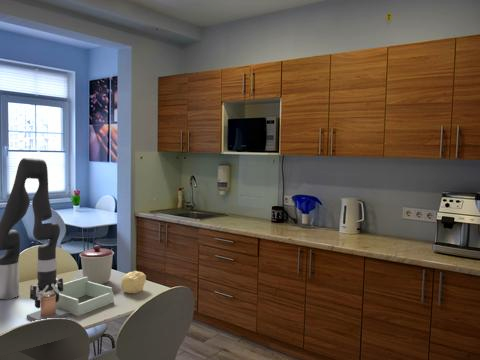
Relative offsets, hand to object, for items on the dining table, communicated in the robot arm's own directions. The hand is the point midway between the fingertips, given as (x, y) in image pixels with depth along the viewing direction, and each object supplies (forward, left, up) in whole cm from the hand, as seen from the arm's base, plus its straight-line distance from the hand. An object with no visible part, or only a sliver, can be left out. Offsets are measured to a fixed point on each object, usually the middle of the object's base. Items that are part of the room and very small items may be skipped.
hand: (47, 304), depth 176 cm
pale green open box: (0, +18, -6) cm, 19 cm away
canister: (-20, +43, -6) cm, 48 cm away
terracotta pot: (0, 0, -4) cm, 4 cm away
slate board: (0, 0, -6) cm, 6 cm away
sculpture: (+7, +44, -6) cm, 45 cm away
